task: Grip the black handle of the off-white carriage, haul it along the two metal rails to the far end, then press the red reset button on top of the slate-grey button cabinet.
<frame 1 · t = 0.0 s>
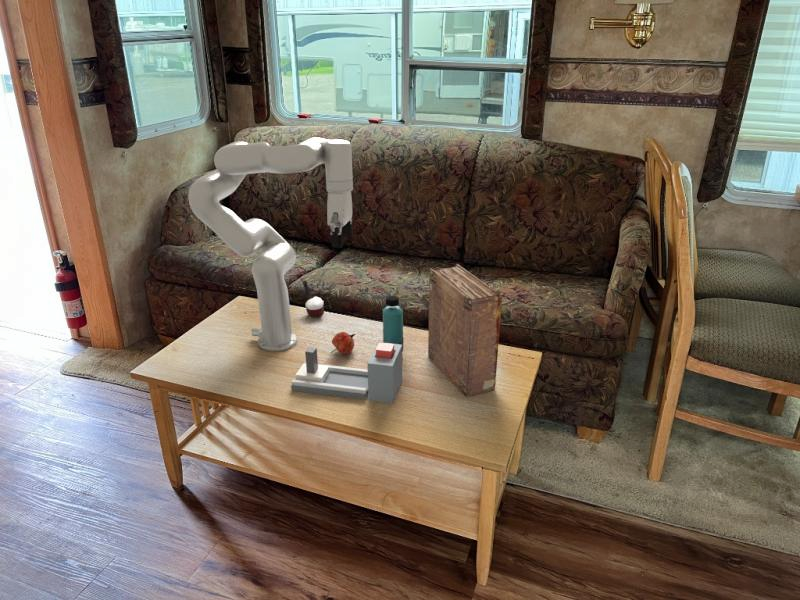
hand: (342, 241, 184), 37 cm above the table, tool pointing down, fingers open, 9 cm apart
reset button: (385, 353, 173), point 12 cm above the table, slide at 0.0 cm
book: (459, 373, 187), on the table
button cabinet: (385, 389, 178), on the table
pomegranate: (343, 353, 198), on the table
carriage: (311, 363, 180), point 6 cm above the table, slide at 0.0 cm
beverage bottle: (393, 355, 196), on the table
cocoa: (315, 315, 223), on the table
rail bed: (334, 383, 181), on the table
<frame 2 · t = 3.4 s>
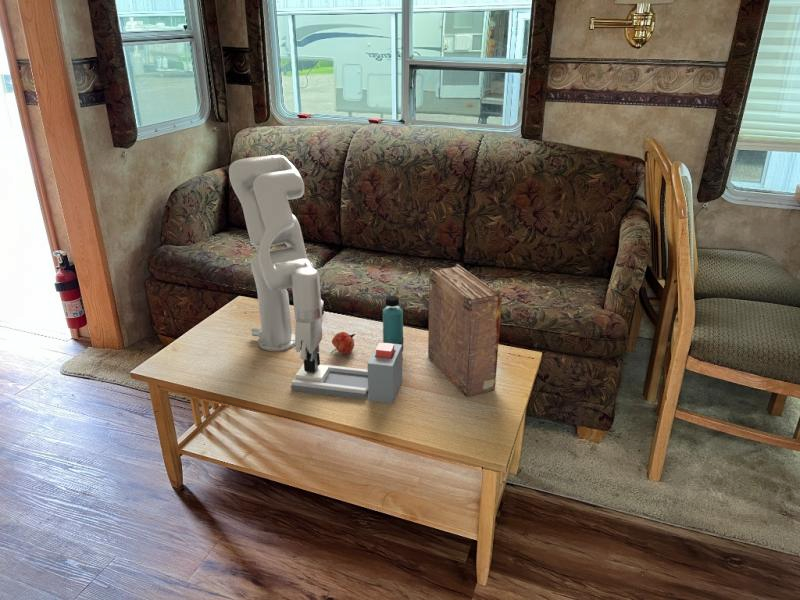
hand: (312, 367, 181), 5 cm above the table, tool pointing down, fingers closed on carriage, 3 cm apart
carriage: (311, 363, 180), point 6 cm above the table, slide at 0.0 cm, touching gripper
everything else where it was.
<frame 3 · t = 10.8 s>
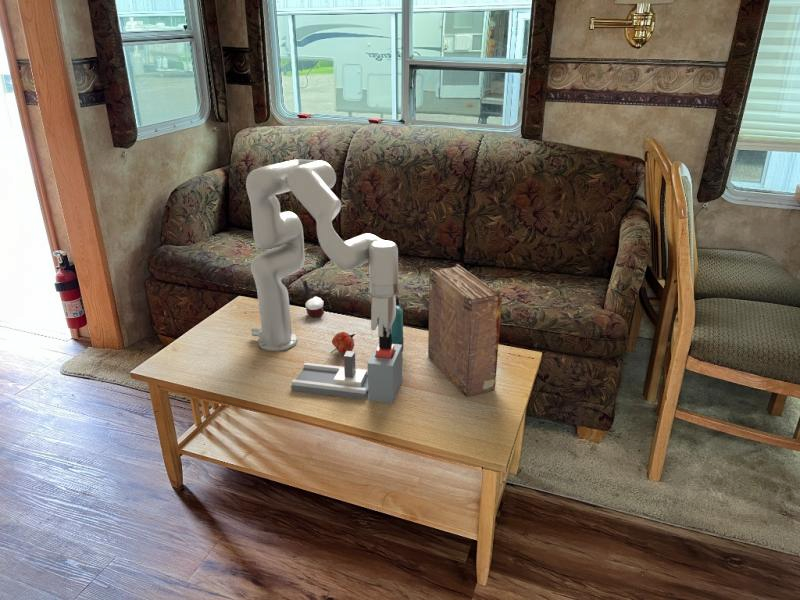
hand: (385, 347, 172), 14 cm above the table, tool pointing down, fingers closed
reset button: (385, 353, 173), point 12 cm above the table, slide at 0.2 cm, touching gripper
carriage: (349, 367, 178), point 6 cm above the table, slide at 11.5 cm
everything else where it was.
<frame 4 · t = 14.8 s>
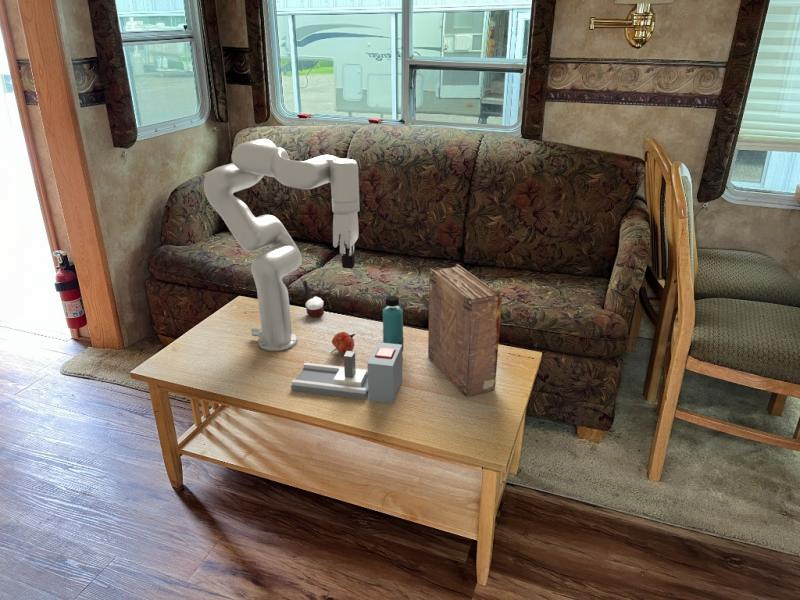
hand: (348, 267, 178), 32 cm above the table, tool pointing down, fingers closed
reset button: (385, 358, 174), point 11 cm above the table, slide at 1.7 cm
everything else where it was.
at the end: carriage slide at 11.5 cm; reset button slide at 1.7 cm; the gripper is holding nothing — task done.
